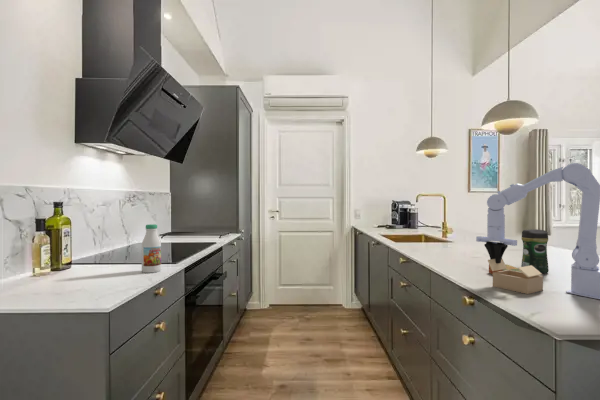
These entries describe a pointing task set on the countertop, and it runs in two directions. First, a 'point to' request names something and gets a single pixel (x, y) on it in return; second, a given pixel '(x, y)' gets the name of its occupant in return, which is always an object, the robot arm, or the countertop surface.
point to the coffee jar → (535, 249)
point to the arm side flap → (529, 271)
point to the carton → (504, 269)
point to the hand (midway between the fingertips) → (495, 262)
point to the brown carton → (517, 281)
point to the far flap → (496, 265)
